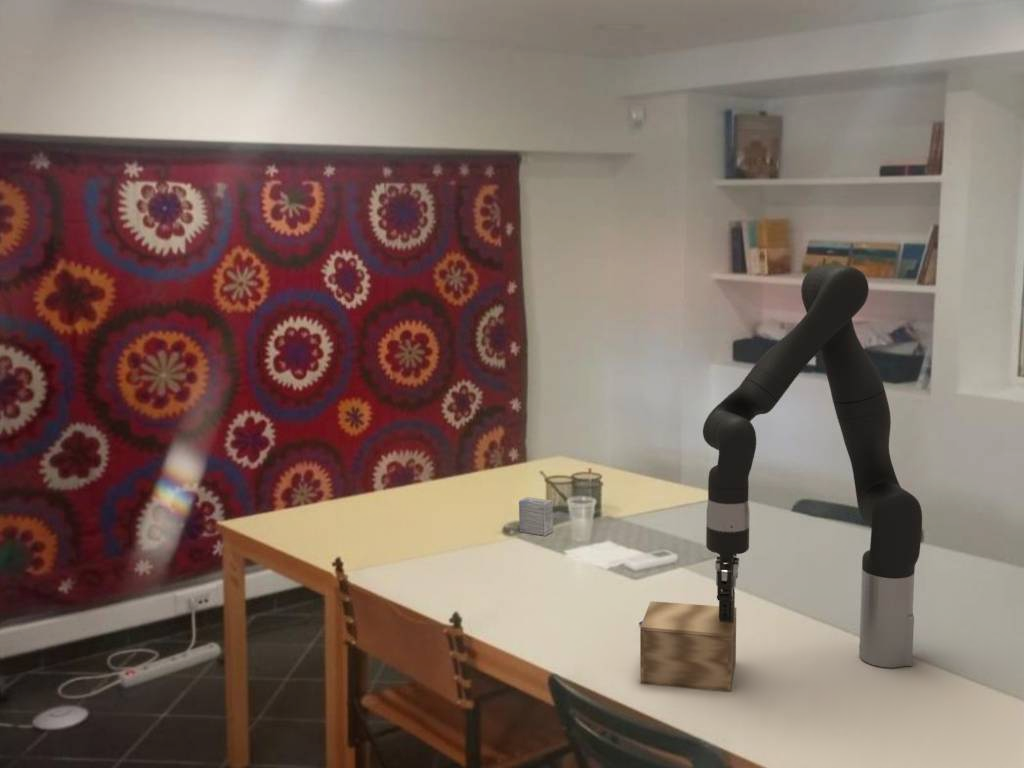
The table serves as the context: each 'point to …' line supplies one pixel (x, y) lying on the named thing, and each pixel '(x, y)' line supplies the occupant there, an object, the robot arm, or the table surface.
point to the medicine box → (536, 516)
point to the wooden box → (687, 660)
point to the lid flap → (687, 619)
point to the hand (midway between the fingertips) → (726, 613)
